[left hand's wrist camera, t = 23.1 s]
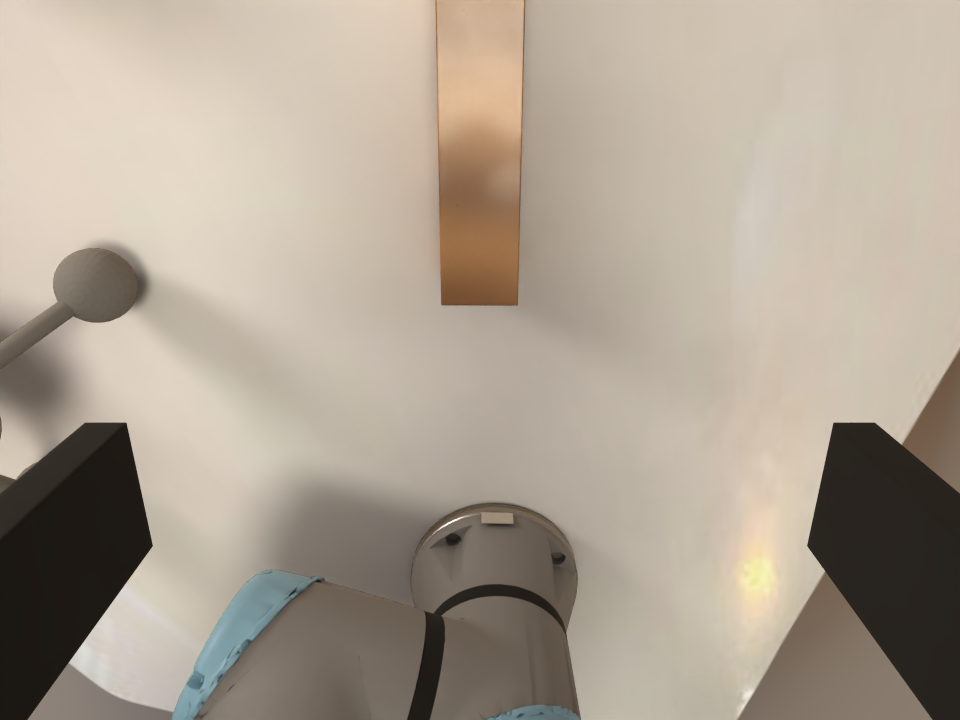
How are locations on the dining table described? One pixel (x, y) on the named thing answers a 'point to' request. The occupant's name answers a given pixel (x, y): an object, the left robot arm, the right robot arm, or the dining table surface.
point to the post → (479, 148)
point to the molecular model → (76, 303)
